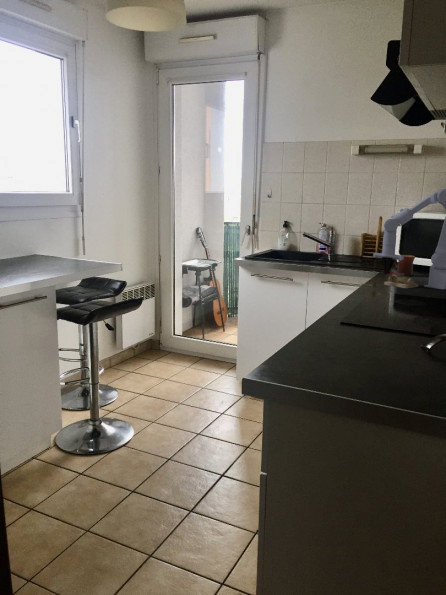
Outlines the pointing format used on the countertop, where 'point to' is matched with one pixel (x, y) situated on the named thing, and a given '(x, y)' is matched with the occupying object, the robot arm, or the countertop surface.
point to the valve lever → (396, 273)
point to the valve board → (401, 282)
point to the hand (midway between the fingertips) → (386, 273)
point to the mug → (405, 265)
